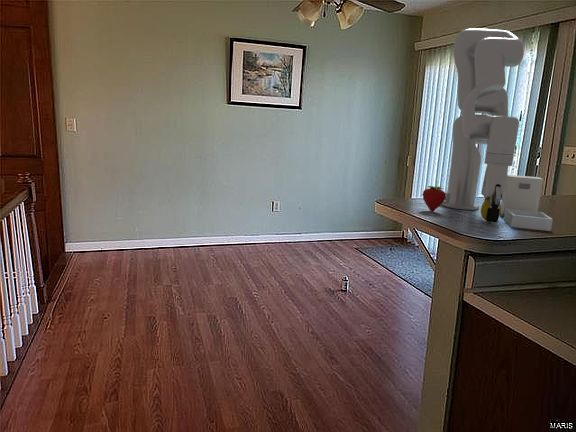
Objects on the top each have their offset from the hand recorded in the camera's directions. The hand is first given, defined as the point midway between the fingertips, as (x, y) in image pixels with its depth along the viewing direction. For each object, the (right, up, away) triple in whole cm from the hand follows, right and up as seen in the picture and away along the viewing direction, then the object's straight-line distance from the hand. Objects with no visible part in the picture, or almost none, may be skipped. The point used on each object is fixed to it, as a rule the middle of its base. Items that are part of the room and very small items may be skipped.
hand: (489, 218), depth 138 cm
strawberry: (-13, +2, +14) cm, 19 cm away
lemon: (0, -2, 0) cm, 2 cm away
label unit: (+14, +1, +12) cm, 19 cm away
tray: (+11, -2, +1) cm, 11 cm away
